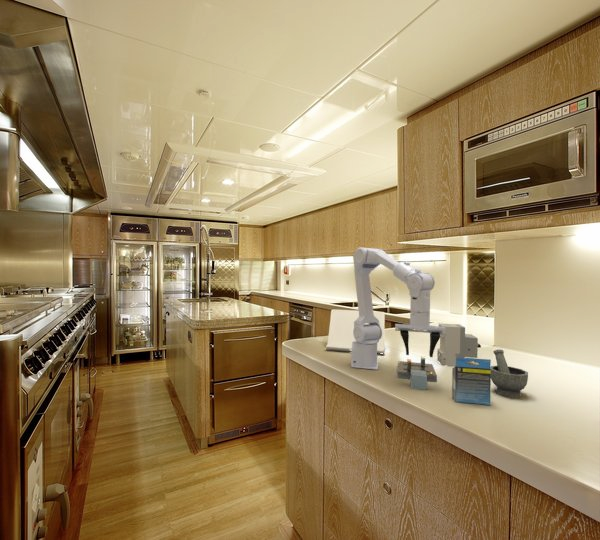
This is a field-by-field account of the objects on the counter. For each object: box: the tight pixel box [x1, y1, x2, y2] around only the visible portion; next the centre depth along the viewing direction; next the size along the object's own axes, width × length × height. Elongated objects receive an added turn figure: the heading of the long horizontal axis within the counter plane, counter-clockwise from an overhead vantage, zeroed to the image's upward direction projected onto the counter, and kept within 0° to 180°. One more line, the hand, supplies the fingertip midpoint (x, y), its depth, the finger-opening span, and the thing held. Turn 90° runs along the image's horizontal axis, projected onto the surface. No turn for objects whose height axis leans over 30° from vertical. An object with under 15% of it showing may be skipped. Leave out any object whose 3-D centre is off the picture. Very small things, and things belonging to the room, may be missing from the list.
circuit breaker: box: [436, 322, 482, 367], centre depth 127 cm, size 8×14×15 cm, turn 78°
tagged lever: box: [406, 358, 412, 370], centre depth 111 cm, size 1×3×3 cm, turn 164°
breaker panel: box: [397, 360, 438, 383], centre depth 113 cm, size 12×14×2 cm
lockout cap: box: [410, 370, 428, 391], centre depth 101 cm, size 4×6×4 cm
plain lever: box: [420, 355, 426, 366], centre depth 116 cm, size 1×3×3 cm, turn 164°
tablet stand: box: [325, 309, 386, 355], centre depth 148 cm, size 18×25×17 cm
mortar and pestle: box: [490, 349, 529, 399], centre depth 97 cm, size 11×9×12 cm
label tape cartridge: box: [451, 357, 492, 406], centre depth 90 cm, size 9×4×12 cm, turn 77°
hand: (419, 355), depth 101 cm, fingers open, 6 cm apart
